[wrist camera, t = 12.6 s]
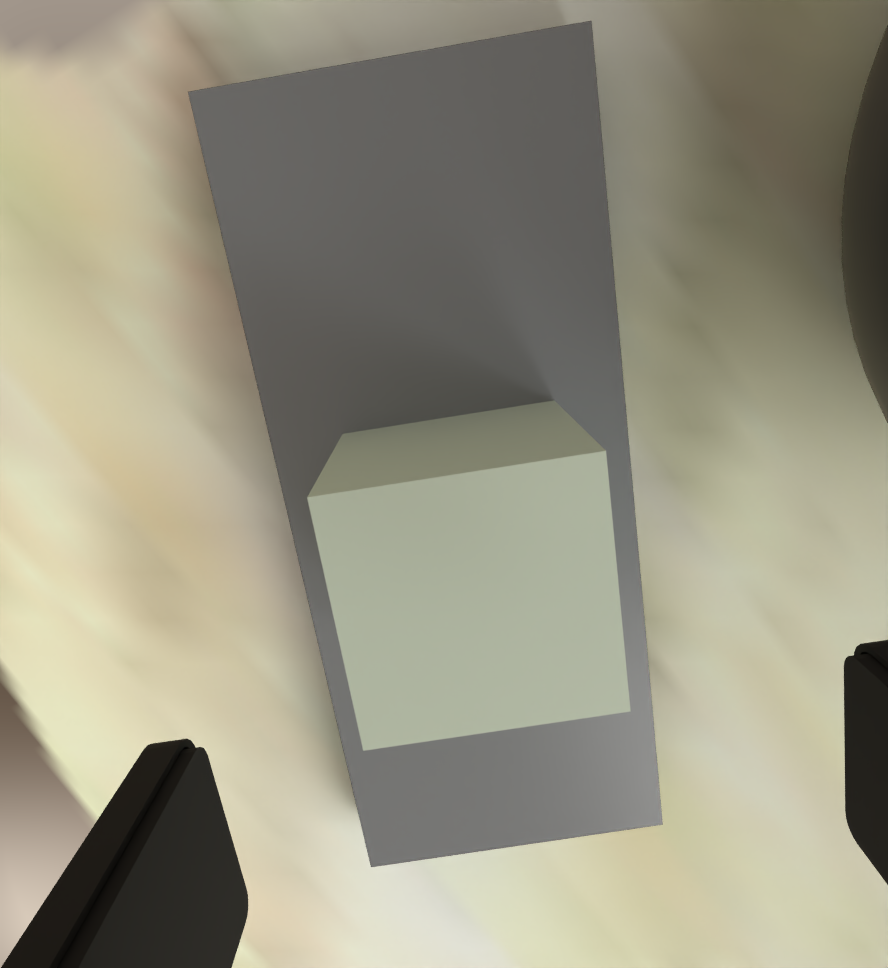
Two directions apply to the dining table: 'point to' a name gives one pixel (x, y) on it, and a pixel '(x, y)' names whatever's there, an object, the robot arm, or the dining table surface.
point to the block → (472, 574)
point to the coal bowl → (869, 228)
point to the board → (439, 362)
